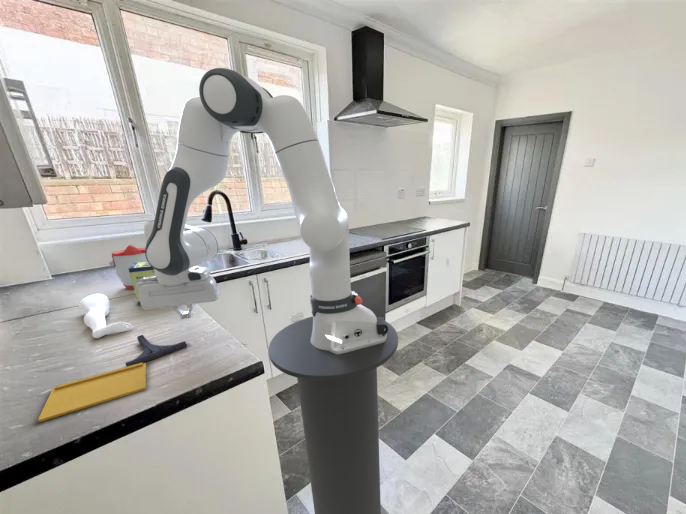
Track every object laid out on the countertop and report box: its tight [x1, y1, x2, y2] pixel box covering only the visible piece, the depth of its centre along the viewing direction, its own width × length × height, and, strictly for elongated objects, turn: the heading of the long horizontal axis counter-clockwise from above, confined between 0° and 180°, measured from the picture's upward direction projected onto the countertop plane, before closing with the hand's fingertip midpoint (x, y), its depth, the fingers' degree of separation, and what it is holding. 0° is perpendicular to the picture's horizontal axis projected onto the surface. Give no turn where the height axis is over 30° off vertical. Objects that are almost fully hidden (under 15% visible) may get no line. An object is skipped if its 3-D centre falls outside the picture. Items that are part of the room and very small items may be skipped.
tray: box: [37, 362, 147, 423], centre depth 73 cm, size 18×13×1 cm
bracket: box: [125, 334, 188, 367], centre depth 91 cm, size 14×15×3 cm
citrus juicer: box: [108, 244, 148, 291], centre depth 144 cm, size 16×17×20 cm
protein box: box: [129, 262, 156, 306], centre depth 129 cm, size 10×16×16 cm
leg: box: [77, 293, 134, 339], centre depth 110 cm, size 7×35×10 cm
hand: (187, 317), depth 94 cm, fingers closed
